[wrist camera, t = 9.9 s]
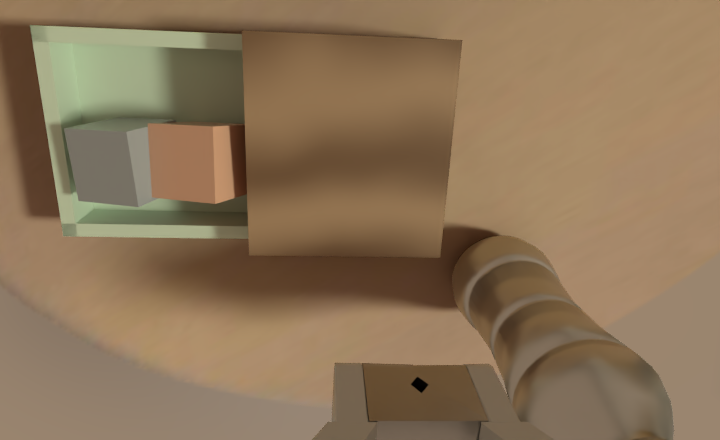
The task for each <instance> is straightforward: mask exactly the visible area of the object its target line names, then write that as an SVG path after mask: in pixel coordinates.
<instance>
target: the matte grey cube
mask: <svg viewBox="0 0 720 440" xmlns="http://www.w3.org/2000/svg"><path fill="white" fill-rule="evenodd" d="M167 122H176V120H171V119H148V118H126V117H117V118H112V119H107V120H103V121H98V122H93V123H88V124H83V125H78V126H73V127H69V128H64V132H65V137H66V142H67V146H68V151H69V156H70V161H71V166H72V171H73V176H74V181H75V186H76V191H77V196H78V201H84V202H93V203H103V204H112V205H122V206H132V207H140V206H143V205H145V204H147V203H149V202H152V201H154V200H156V199H158V198H152V190H151V173H150V156H149V140H148V123H167Z"/></svg>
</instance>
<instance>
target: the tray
mask: <svg viewBox="0 0 720 440" xmlns="http://www.w3.org/2000/svg"><path fill="white" fill-rule="evenodd" d="M30 30H31V36H32V42H33V49H34V55H35V61H36V67H37V74H38V80H39V86H40V93H41V99H42V105H43V111H44V118H45V124H46V130H47V137H48V143H49V149H50V155H51V162H52V168H53V174H54V181H55V187H56V193H57V199H58V206H59V212H60V218H61V224H62V231H63V236H82V237H149V238H216V239H248V209H247V194H246V195H243V196H240V197H237V198H233V199H230V200H227V201H223V202H220V203H217V204H211V203H201V202H191V201H181V200H171V199H161V198H158V199H156V200H154V201H152V202H149V203H147V204H145V205H143V206H140V207H132V206H122V205H112V204H103V203H93V202H84V201H78V196H77V191H76V186H75V181H74V176H73V171H72V166H71V161H70V156H69V151H68V146H67V142H66V137H65V132H64V128H69V127H73V126H78V125H83V124H88V123H93V122H98V121H103V120H107V119H112V118H117V117H126V118H148V119H171V120H176V122H190V121H196V122H217V123H239V124H245V114H244V83H243V51H242V34H231V33H208V32H185V31H162V30H140V29H117V28H94V27H71V26H43V25H30Z"/></svg>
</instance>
